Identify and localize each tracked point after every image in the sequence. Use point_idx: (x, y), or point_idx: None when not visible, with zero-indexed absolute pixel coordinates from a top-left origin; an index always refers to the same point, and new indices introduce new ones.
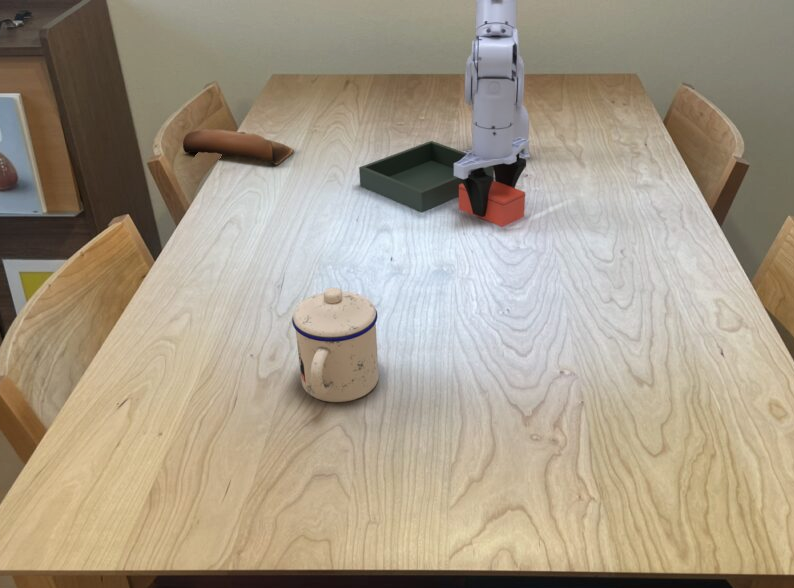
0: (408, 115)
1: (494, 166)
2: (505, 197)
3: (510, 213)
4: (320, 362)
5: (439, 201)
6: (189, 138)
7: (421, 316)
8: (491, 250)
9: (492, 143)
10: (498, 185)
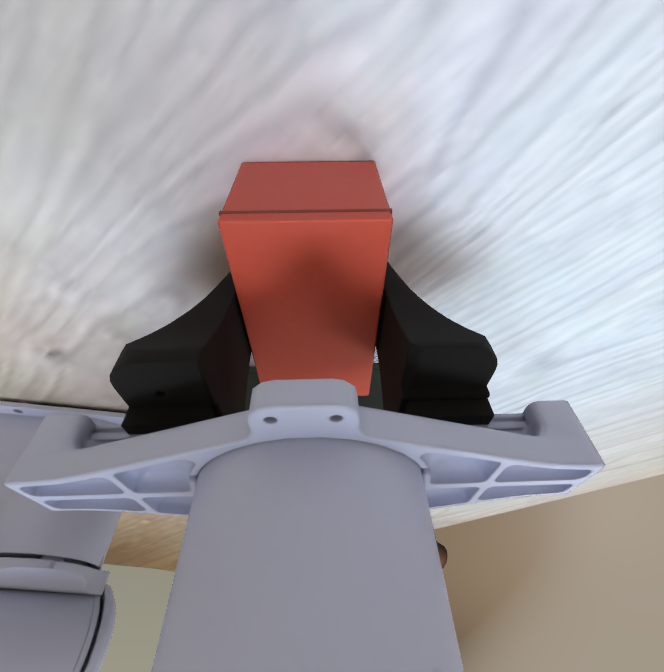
0: (160, 528)
1: (243, 409)
2: (344, 244)
3: (330, 183)
4: None
5: (376, 377)
6: (444, 562)
7: None
8: (577, 46)
9: (429, 584)
10: (272, 331)
